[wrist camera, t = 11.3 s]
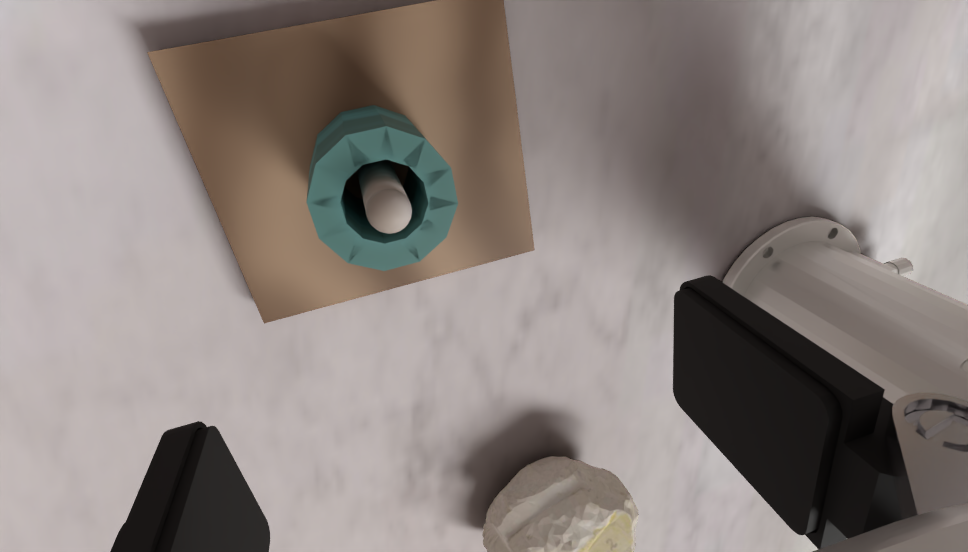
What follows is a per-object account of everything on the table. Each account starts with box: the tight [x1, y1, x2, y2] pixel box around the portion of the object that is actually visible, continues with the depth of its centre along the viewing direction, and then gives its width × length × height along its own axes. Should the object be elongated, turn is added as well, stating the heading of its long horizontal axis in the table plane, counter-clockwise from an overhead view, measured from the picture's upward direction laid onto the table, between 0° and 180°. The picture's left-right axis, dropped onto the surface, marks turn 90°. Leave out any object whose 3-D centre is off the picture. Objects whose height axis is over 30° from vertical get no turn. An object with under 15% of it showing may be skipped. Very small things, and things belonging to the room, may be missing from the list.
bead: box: [306, 105, 458, 271], centre depth 24 cm, size 6×6×6 cm
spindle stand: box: [147, 0, 534, 323], centre depth 24 cm, size 16×14×9 cm
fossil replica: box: [482, 456, 639, 552], centre depth 39 cm, size 12×8×10 cm
